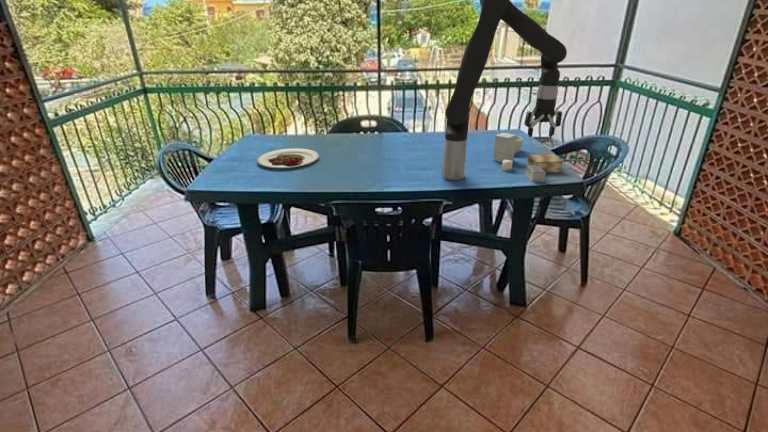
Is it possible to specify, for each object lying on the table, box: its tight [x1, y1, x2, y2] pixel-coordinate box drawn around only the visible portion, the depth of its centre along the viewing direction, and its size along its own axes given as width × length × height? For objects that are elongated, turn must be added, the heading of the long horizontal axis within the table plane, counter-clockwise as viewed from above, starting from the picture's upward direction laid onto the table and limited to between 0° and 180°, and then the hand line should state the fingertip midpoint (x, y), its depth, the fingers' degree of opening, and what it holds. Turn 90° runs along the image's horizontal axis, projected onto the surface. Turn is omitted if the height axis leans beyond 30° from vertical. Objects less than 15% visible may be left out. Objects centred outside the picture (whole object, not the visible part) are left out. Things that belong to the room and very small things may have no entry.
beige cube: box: [501, 160, 514, 172], centre depth 188 cm, size 4×4×4 cm
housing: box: [524, 164, 547, 183], centre depth 178 cm, size 10×5×4 cm, turn 178°
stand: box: [526, 154, 564, 173], centre depth 188 cm, size 12×10×5 cm
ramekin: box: [514, 135, 524, 155], centre depth 212 cm, size 13×13×7 cm
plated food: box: [256, 148, 319, 169], centre depth 205 cm, size 30×30×3 cm
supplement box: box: [492, 132, 517, 163], centre depth 198 cm, size 7×7×13 cm
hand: (540, 136), depth 171 cm, fingers open, 8 cm apart
